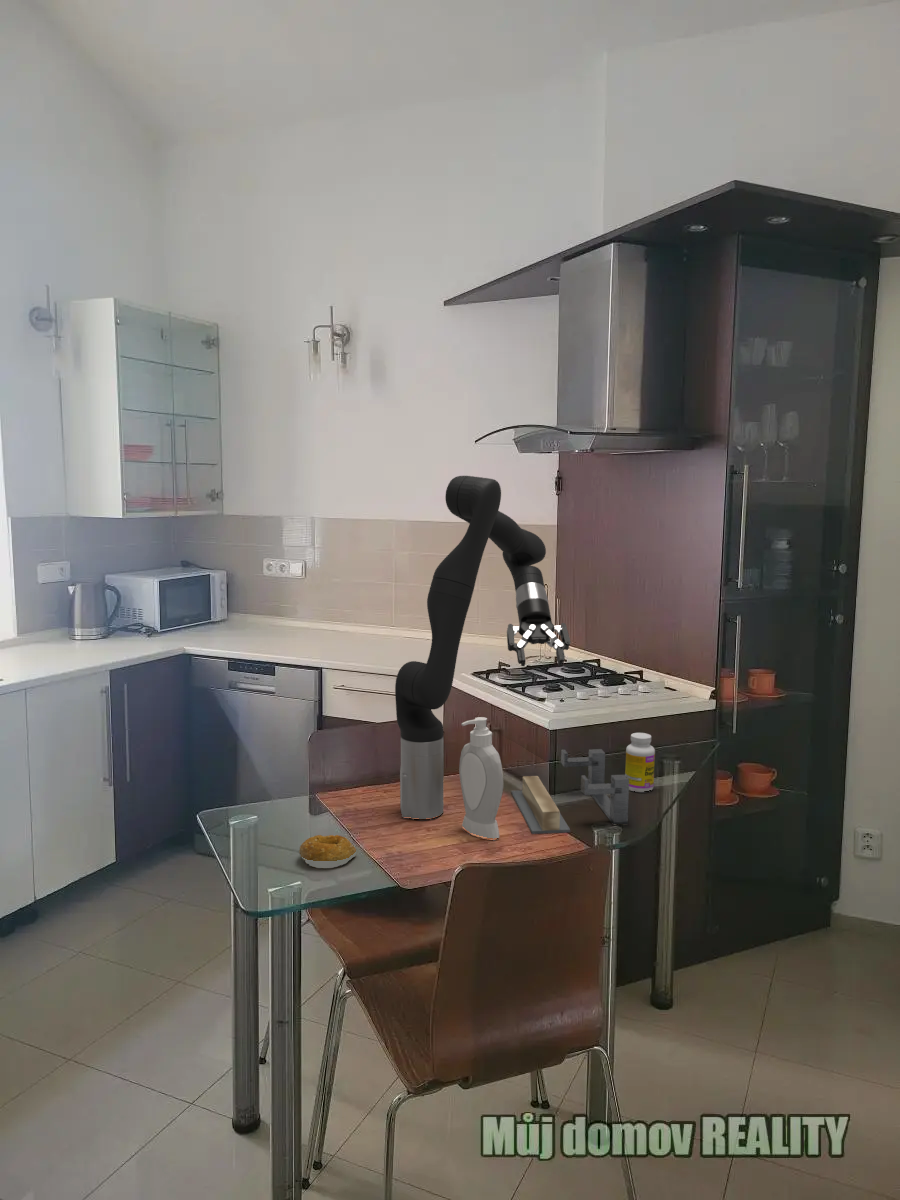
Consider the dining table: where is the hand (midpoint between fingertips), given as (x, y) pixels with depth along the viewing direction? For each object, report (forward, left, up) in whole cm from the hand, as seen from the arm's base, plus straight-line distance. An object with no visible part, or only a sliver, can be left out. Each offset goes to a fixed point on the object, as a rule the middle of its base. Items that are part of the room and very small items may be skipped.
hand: (542, 664), depth 207 cm
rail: (-2, -12, -30) cm, 32 cm away
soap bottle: (-18, -22, -31) cm, 42 cm away
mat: (-2, -11, -31) cm, 33 cm away
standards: (+10, -10, -31) cm, 34 cm away
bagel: (-48, -30, -31) cm, 65 cm away
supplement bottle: (+24, +1, -31) cm, 39 cm away
